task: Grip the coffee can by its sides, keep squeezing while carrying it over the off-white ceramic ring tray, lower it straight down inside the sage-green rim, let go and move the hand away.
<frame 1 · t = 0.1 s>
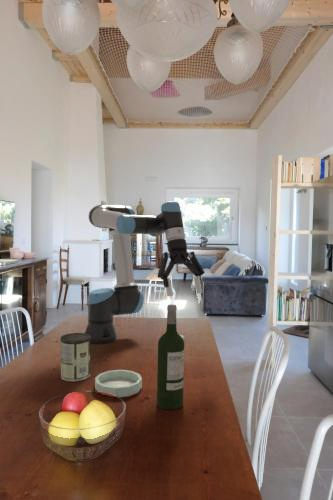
hand: (185, 294, 146), 28 cm above the table, tool tilted 20°, fingers open, 13 cm apart
wine bottle: (169, 404, 116), on the table
white cup: (173, 361, 154), on the table
ring tray: (118, 387, 127), on the table
coffee can: (75, 376, 136), on the table
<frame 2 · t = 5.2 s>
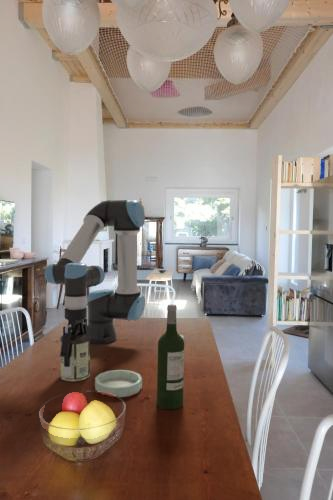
hand: (75, 369, 136), 2 cm above the table, tool pointing down, fingers closed on coffee can, 10 cm apart
coffee can: (75, 376, 136), on the table, touching gripper
everything else where it was.
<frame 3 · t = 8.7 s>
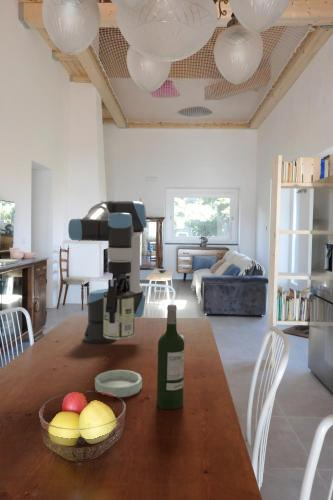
hand: (118, 328, 126), 20 cm above the table, tool pointing down, fingers closed on coffee can, 10 cm apart
coffee can: (118, 335, 126), point 17 cm above the table, touching gripper
everything else where it was.
when the fingers open (4 cm above the table, at t = 12.5 s): coffee can drops 1 cm, resting on ring tray.
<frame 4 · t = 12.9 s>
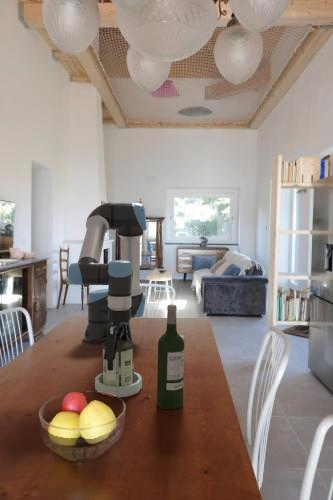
hand: (118, 371, 127), 5 cm above the table, tool pointing down, fingers open, 13 cm apart
coffee can: (118, 386, 127), resting on ring tray
everything else where it was.
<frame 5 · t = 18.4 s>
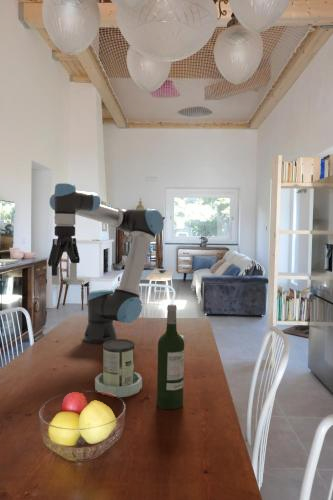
hand: (64, 282, 145), 32 cm above the table, tool pointing down, fingers open, 13 cm apart
nothing on the table moved.
at the end: coffee can 0.1 cm from the ring tray (horizontally); coffee can tilted 1°; coffee can resting on ring tray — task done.
